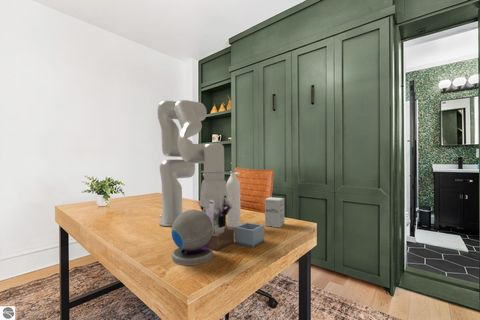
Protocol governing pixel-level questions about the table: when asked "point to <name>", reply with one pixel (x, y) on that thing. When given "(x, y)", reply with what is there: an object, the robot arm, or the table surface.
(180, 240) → the webcam
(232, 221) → the water bottle
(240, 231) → the blue-grey open box
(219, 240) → the walnut box
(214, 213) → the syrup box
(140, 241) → the table surface
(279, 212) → the supplement box
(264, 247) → the table surface
